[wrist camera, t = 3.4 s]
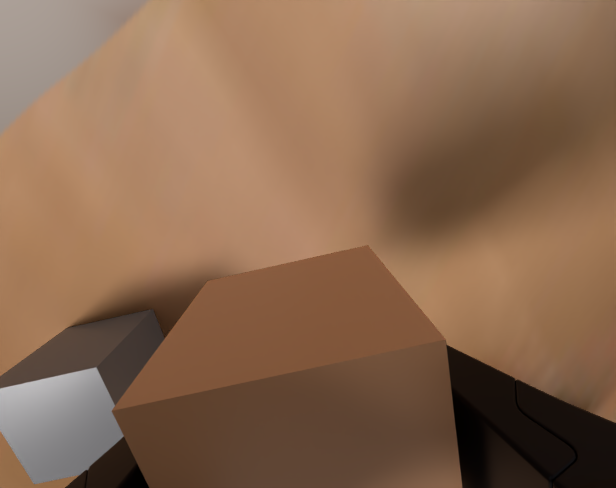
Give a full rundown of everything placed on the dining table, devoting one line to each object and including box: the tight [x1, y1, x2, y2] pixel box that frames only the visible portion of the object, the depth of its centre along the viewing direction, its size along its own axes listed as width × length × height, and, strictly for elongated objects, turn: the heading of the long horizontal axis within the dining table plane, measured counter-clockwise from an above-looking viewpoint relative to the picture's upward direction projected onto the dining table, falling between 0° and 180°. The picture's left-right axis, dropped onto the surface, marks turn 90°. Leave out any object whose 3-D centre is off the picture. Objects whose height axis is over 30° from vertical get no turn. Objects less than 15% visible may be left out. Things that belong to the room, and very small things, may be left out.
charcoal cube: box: [0, 309, 165, 484], centre depth 15 cm, size 5×5×5 cm
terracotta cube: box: [112, 245, 462, 488], centre depth 8 cm, size 5×5×5 cm
